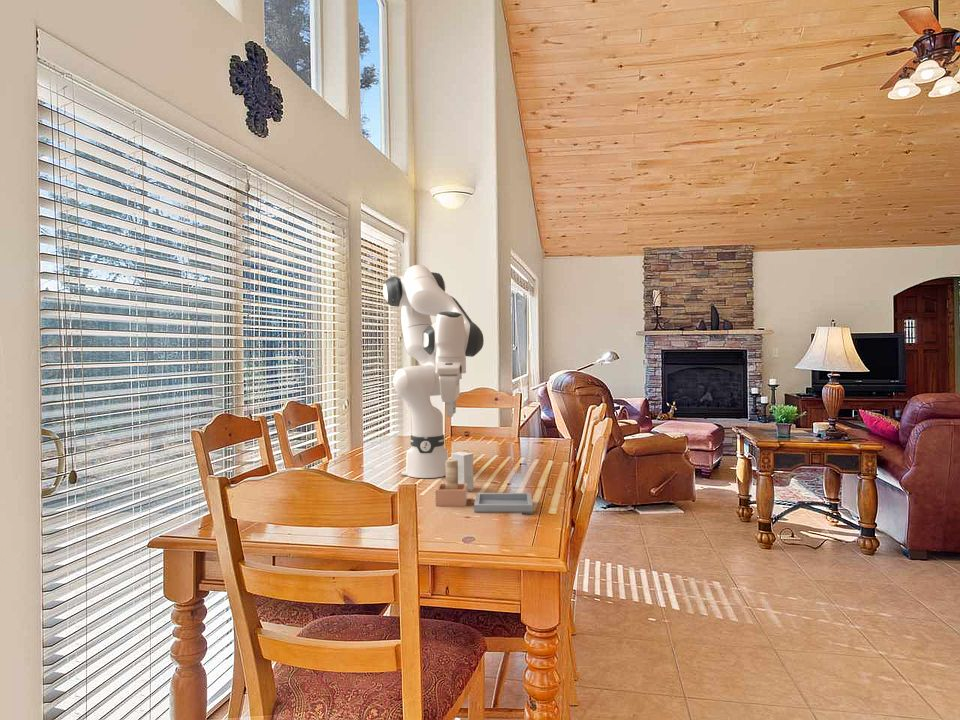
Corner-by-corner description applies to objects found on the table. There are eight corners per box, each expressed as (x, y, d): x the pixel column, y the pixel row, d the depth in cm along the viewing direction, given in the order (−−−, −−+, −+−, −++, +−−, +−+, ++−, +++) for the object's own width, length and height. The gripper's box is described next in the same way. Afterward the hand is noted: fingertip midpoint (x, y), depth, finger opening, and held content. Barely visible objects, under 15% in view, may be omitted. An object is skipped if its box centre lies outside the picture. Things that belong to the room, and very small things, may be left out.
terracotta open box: (438, 500, 188) (438, 483, 188) (467, 500, 188) (467, 483, 188) (435, 507, 179) (435, 490, 179) (465, 507, 179) (465, 490, 179)
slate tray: (476, 501, 186) (476, 492, 186) (530, 501, 186) (530, 493, 186) (474, 514, 172) (474, 505, 172) (532, 514, 172) (532, 505, 172)
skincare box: (473, 491, 199) (473, 453, 199) (464, 493, 196) (464, 455, 196) (460, 488, 203) (460, 451, 203) (450, 490, 200) (450, 453, 200)
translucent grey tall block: (446, 500, 185) (445, 460, 185) (458, 500, 185) (458, 460, 185) (445, 503, 182) (444, 462, 182) (457, 503, 182) (457, 462, 181)
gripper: (443, 366, 193) (443, 411, 193) (436, 368, 173) (436, 419, 173) (463, 366, 193) (464, 411, 193) (459, 368, 172) (459, 418, 173)
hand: (451, 415), depth 183 cm, fingers open, 8 cm apart
